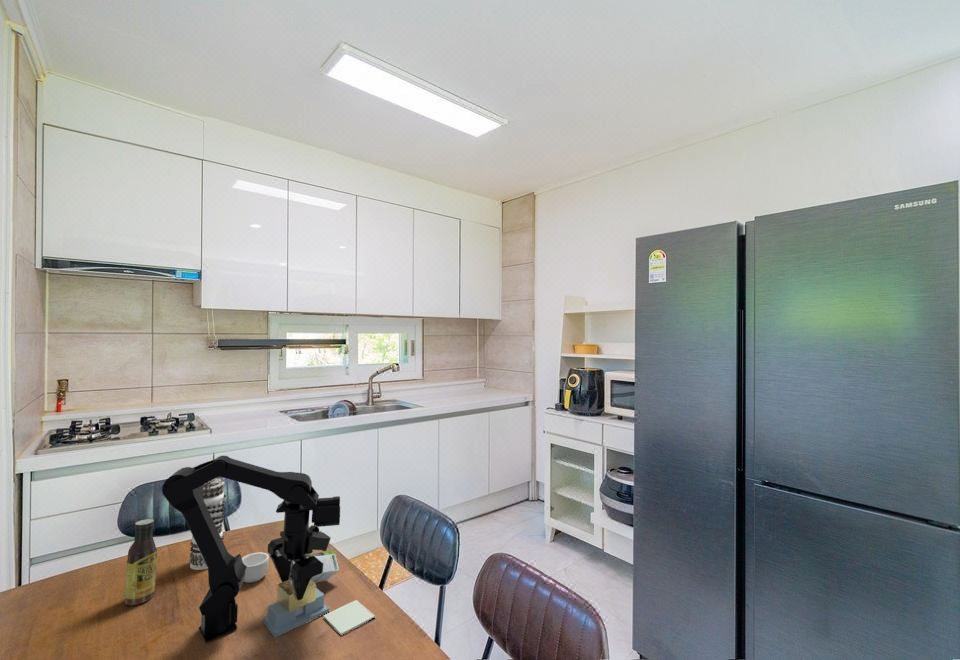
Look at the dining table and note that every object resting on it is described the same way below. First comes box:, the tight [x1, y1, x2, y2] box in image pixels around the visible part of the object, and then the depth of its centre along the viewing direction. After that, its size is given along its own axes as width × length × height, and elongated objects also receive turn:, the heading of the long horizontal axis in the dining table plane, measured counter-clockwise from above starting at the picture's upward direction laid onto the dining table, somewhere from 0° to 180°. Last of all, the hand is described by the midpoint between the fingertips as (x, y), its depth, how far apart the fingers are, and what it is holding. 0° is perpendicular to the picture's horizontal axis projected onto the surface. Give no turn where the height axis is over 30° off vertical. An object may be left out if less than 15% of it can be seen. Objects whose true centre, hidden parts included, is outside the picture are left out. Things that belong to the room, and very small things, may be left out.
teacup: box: [241, 551, 270, 584], centre depth 122 cm, size 10×8×5 cm
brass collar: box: [276, 579, 317, 612], centre depth 105 cm, size 7×7×4 cm
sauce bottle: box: [123, 518, 158, 606], centre depth 111 cm, size 6×6×20 cm
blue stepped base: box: [262, 581, 330, 638], centre depth 105 cm, size 13×8×8 cm, turn 136°
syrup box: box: [288, 550, 340, 584], centre depth 116 cm, size 6×6×14 cm
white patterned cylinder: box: [189, 477, 227, 571], centre depth 130 cm, size 9×9×25 cm
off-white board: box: [322, 599, 376, 636], centre depth 105 cm, size 9×9×1 cm
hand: (292, 591), depth 105 cm, fingers open, 8 cm apart
